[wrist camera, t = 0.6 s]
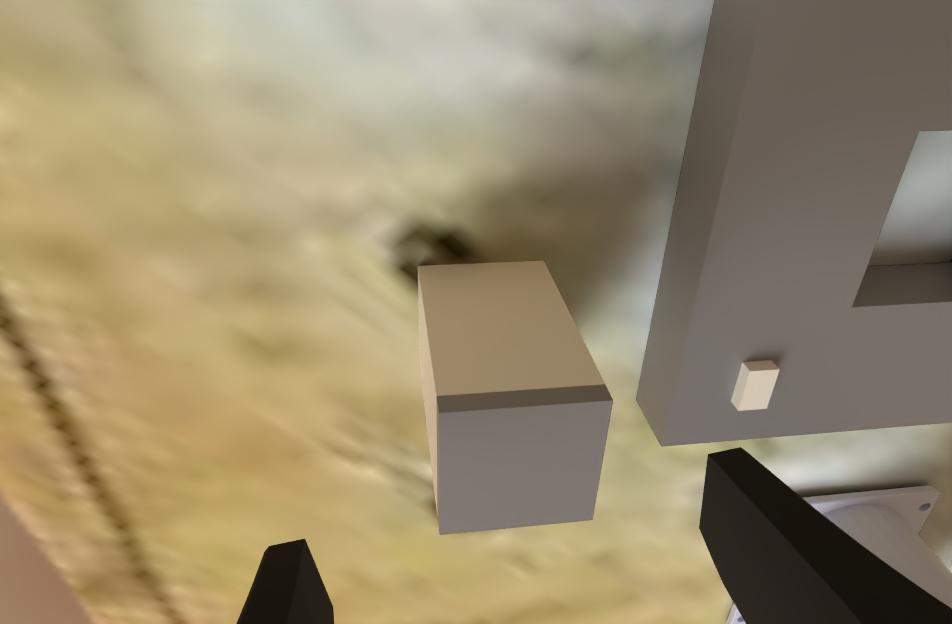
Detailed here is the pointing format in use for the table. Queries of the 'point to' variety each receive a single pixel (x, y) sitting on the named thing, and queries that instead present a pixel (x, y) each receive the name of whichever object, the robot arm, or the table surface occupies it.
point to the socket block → (802, 229)
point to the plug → (508, 398)
